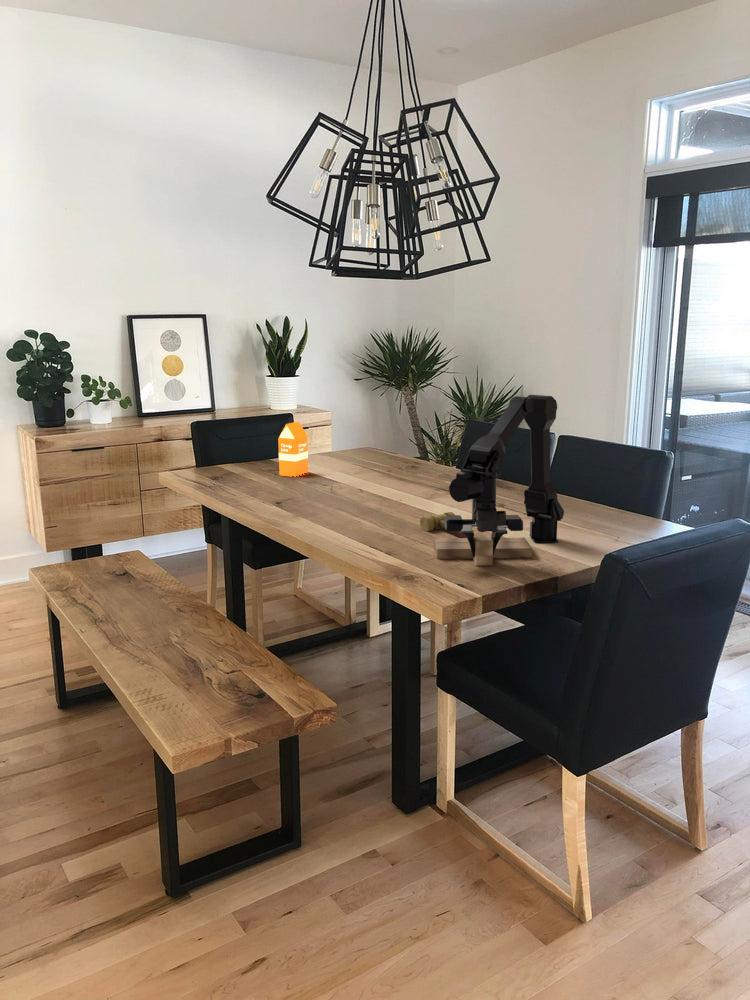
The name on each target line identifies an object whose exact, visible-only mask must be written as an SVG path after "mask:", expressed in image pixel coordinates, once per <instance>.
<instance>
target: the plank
mask: <svg viewBox="0 0 750 1000" xmlns="http://www.w3.org/2000/svg"><path fill="white" fill-rule="evenodd" d="M433 548H434V552H435V556H436V559H437V560H438V559H439V560H440V559H441V560H442V559H445V560H446V559H448V560H450V559H473V555H472V551H471V548H470V545H469V542H468V539H467V538H460V537H453V538H451V537H446V538H445V537H441V538H439V537H438V538H434V539H433ZM510 557H511V558H510ZM513 557H532V558H533V547H532V546H531V544H530V543H529V541H528V540H527V538H526V537H501V538H500V540H499V542H498V544H497V546H496V549H495V552H494V554H493V559H514V558H513Z"/></svg>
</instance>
